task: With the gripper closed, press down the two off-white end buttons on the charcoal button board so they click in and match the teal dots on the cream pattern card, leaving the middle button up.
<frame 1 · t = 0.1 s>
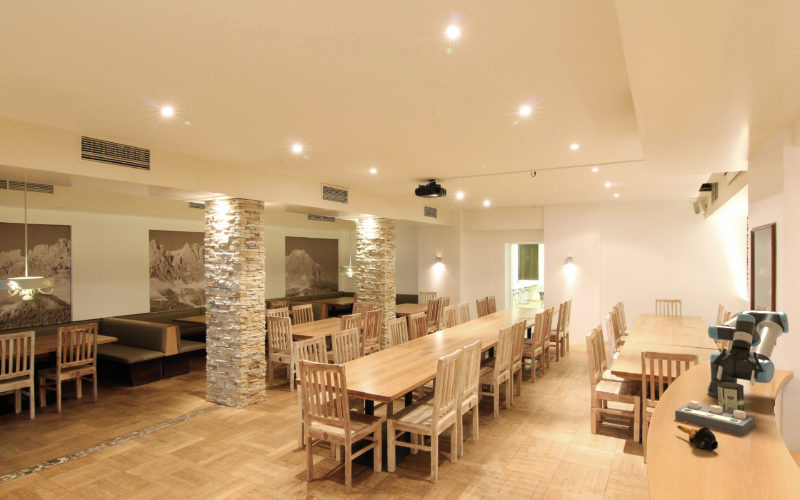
hand: (734, 381, 216), 15 cm above the table, tool tilted 35°, fingers open, 13 cm apart
button board: (714, 422, 204), on the table
end button 2: (739, 417, 199), point 4 cm above the table, slide at 0.0 cm
black bulb with handle: (696, 444, 181), on the table
coffee can: (731, 414, 215), on the table
end button 1: (694, 407, 213), point 4 cm above the table, slide at 0.0 cm
middle button: (716, 412, 206), point 4 cm above the table, slide at 0.0 cm
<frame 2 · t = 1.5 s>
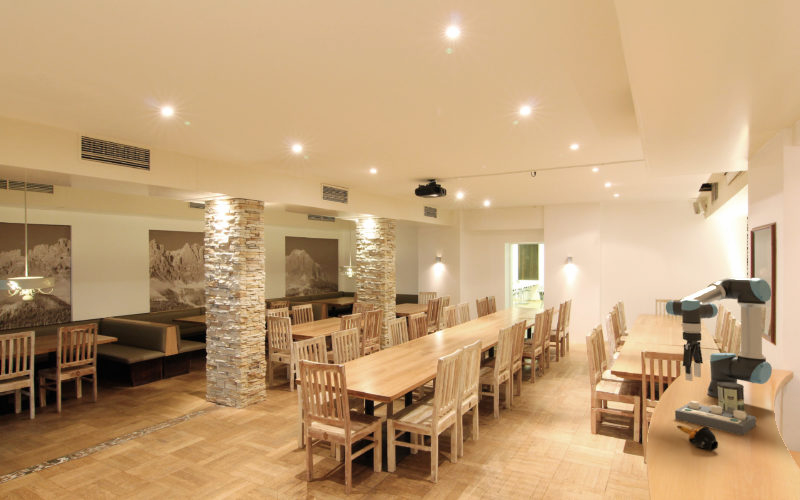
hand: (693, 378, 213), 18 cm above the table, tool pointing down, fingers open, 10 cm apart
nothing on the table moved.
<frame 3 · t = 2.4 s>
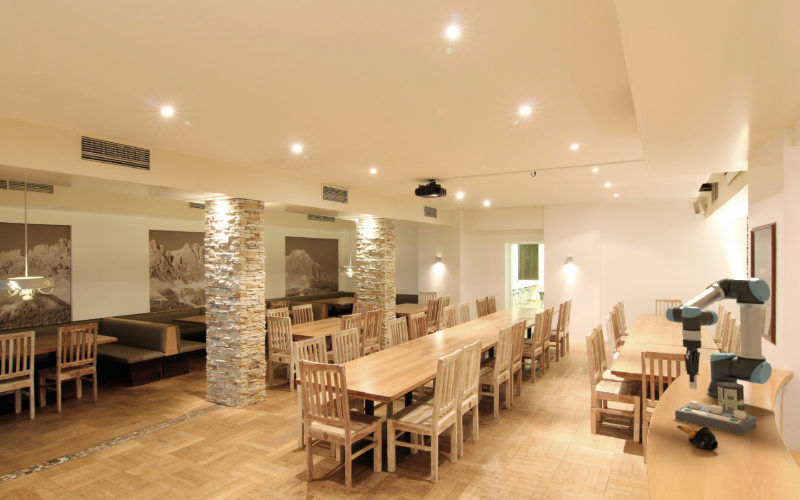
hand: (693, 388, 213), 13 cm above the table, tool pointing down, fingers closed
nothing on the table moved.
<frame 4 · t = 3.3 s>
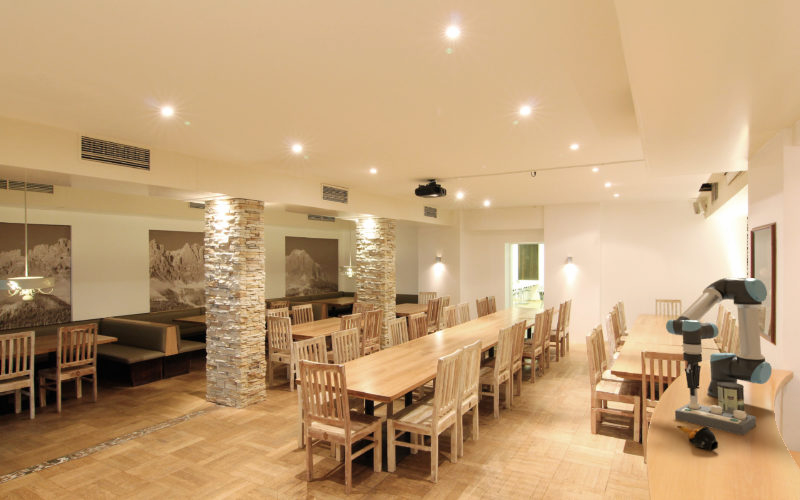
hand: (693, 402, 213), 7 cm above the table, tool pointing down, fingers closed
end button 1: (694, 407, 213), point 4 cm above the table, slide at 0.2 cm, touching gripper
everything else where it was.
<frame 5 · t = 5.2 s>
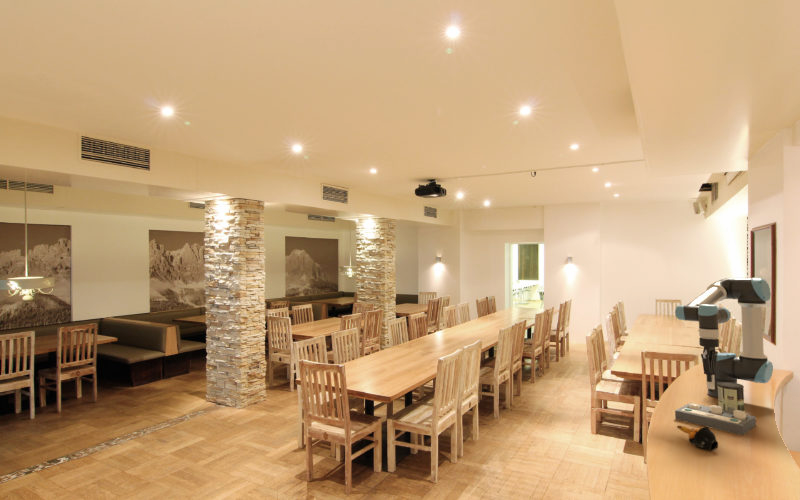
hand: (710, 388, 208), 15 cm above the table, tool pointing down, fingers closed
end button 1: (694, 410, 213), point 3 cm above the table, slide at 1.3 cm
everything else where it was.
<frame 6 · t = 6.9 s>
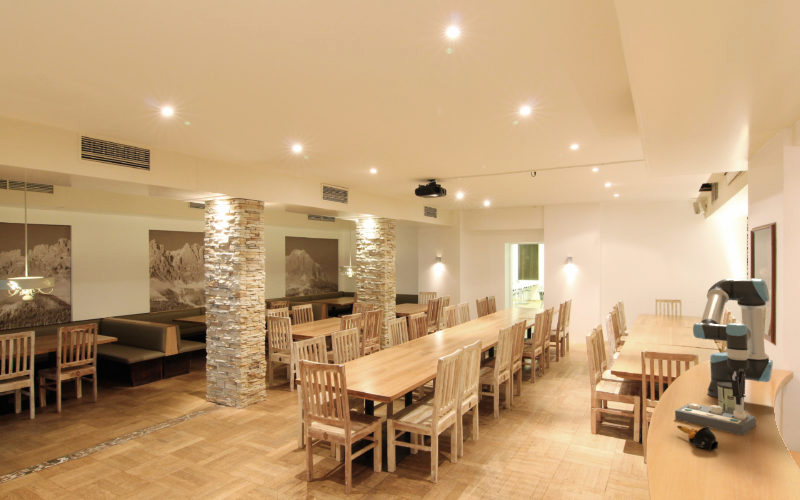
hand: (739, 411, 199), 7 cm above the table, tool pointing down, fingers closed
end button 2: (739, 417, 199), point 4 cm above the table, slide at 0.1 cm, touching gripper
everything else where it was.
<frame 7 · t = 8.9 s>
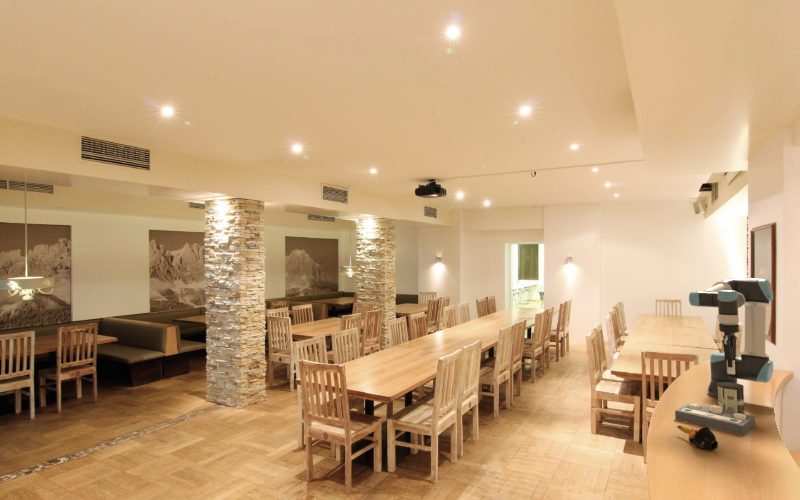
hand: (731, 373, 208), 21 cm above the table, tool pointing down, fingers closed
end button 2: (740, 420, 199), point 3 cm above the table, slide at 1.3 cm
everything else where it was.
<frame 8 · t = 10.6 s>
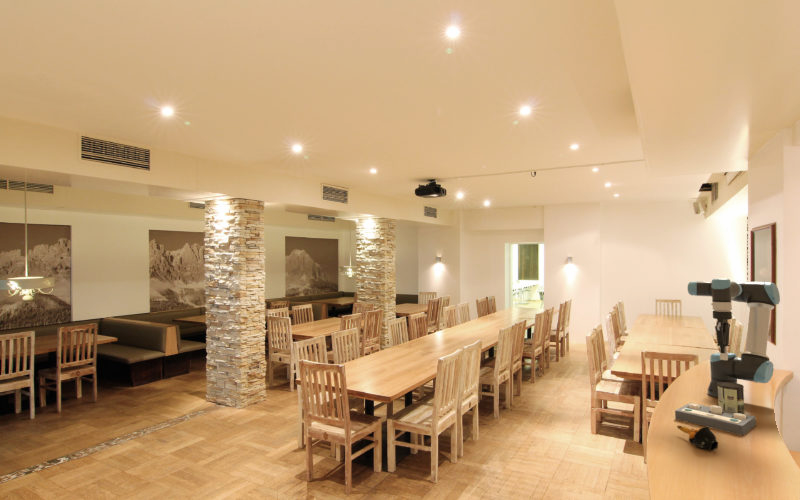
hand: (723, 359, 214), 26 cm above the table, tool pointing down, fingers closed
nothing on the table moved.
at the end: end button 1 slide at 1.3 cm; end button 2 slide at 1.3 cm; middle button slide at 0.0 cm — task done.
